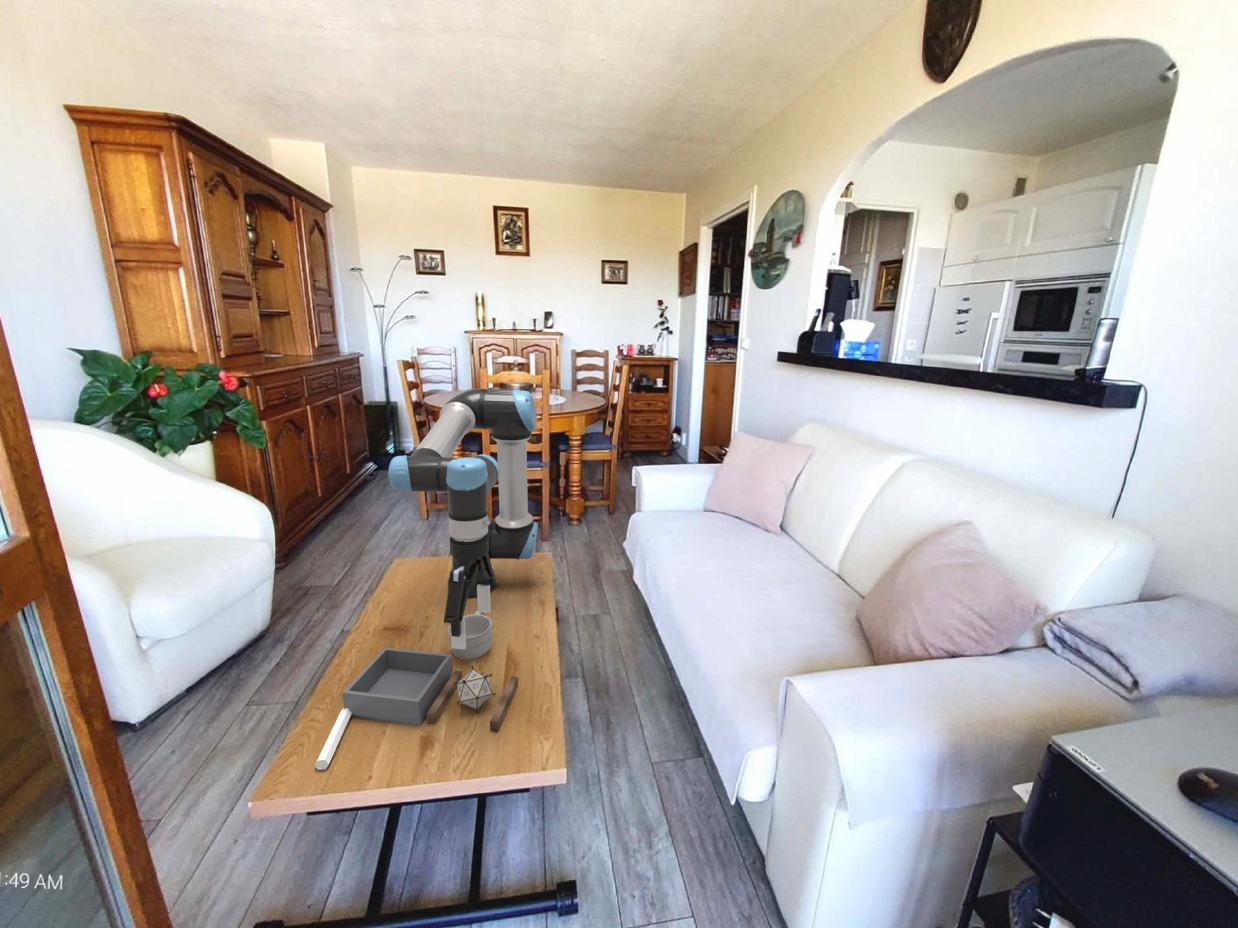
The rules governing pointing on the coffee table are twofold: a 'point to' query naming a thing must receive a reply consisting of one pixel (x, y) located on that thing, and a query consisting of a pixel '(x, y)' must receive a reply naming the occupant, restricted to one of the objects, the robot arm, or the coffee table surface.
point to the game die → (474, 689)
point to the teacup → (475, 636)
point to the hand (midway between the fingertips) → (472, 628)
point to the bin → (398, 686)
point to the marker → (333, 739)
